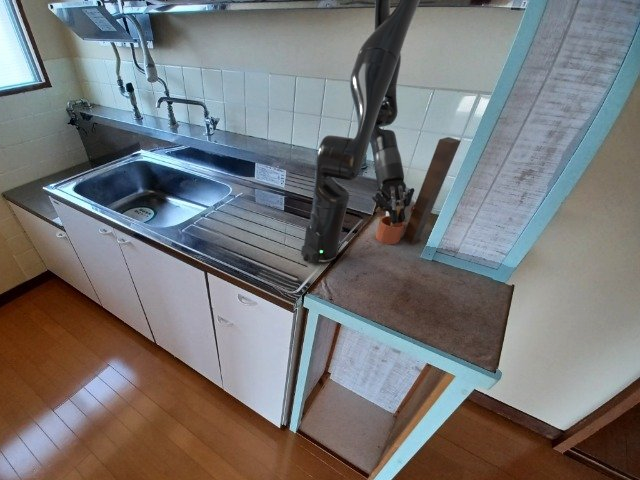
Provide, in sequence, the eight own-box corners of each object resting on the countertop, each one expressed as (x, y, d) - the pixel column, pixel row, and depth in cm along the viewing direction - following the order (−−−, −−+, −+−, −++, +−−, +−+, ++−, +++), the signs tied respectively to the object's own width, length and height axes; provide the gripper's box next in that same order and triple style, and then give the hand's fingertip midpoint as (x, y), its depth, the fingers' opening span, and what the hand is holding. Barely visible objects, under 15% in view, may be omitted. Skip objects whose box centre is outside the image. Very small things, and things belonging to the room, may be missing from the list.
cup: (392, 234, 106) (401, 206, 99) (375, 223, 111) (383, 195, 105) (411, 229, 108) (422, 201, 101) (394, 218, 113) (403, 191, 107)
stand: (411, 244, 102) (451, 143, 81) (402, 238, 104) (439, 139, 83) (419, 240, 103) (461, 140, 82) (409, 235, 105) (448, 136, 85)
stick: (390, 236, 101) (399, 210, 95) (382, 232, 103) (391, 206, 97) (397, 233, 102) (406, 207, 96) (389, 229, 104) (398, 203, 98)
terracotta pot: (387, 247, 101) (393, 230, 97) (370, 236, 106) (375, 219, 101) (404, 240, 103) (410, 223, 99) (386, 229, 108) (391, 213, 104)
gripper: (374, 163, 94) (385, 222, 93) (416, 158, 96) (427, 216, 95) (361, 175, 101) (371, 229, 101) (400, 170, 103) (410, 223, 103)
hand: (398, 222), depth 98 cm, fingers closed on stick, 1 cm apart
